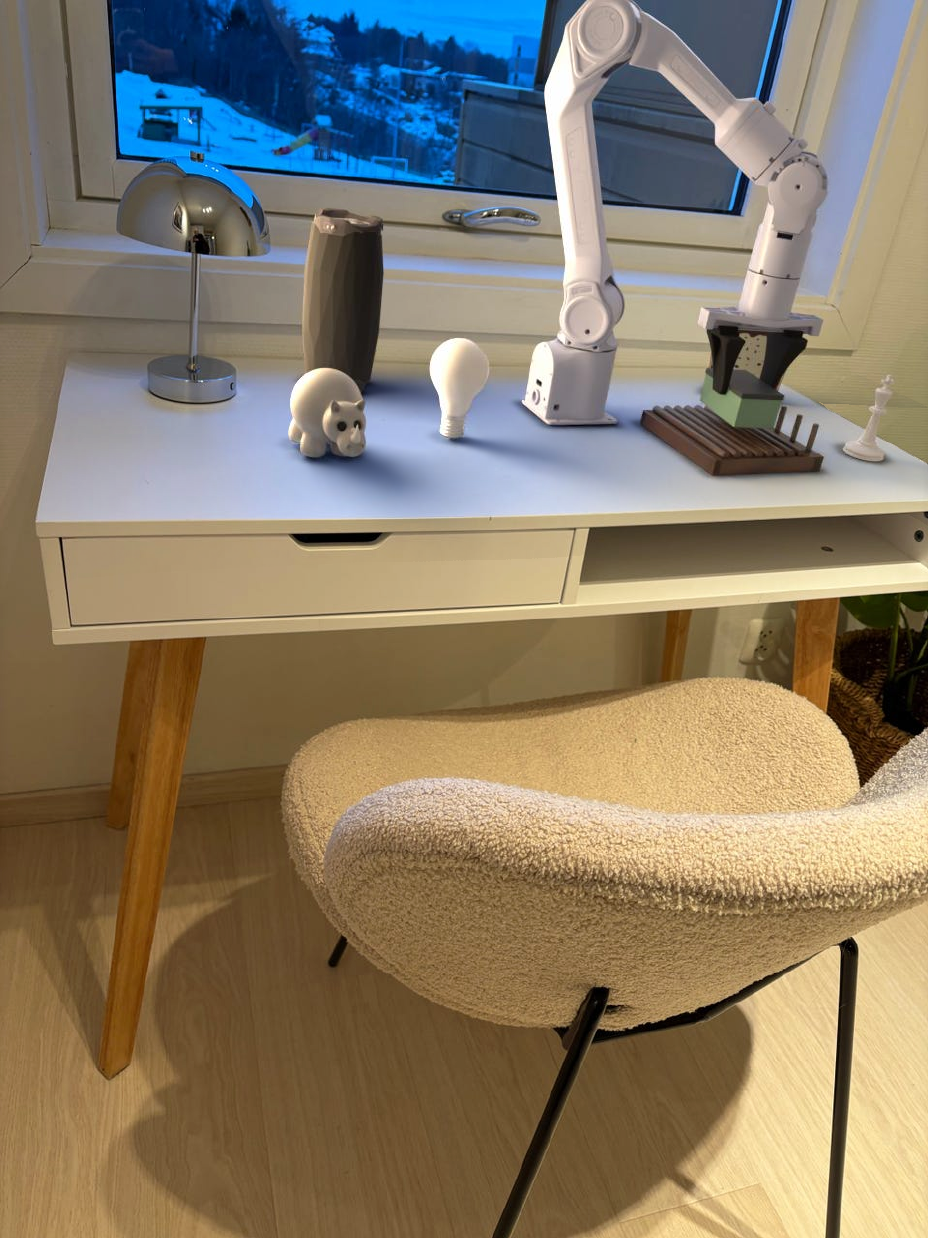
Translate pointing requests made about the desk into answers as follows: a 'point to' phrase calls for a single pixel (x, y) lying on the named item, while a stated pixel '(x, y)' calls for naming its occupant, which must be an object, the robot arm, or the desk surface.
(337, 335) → the brown vase
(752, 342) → the food container
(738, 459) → the dish rack
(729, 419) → the box
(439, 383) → the lightbulb
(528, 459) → the desk surface
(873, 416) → the chess piece
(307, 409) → the toy rhinoceros
